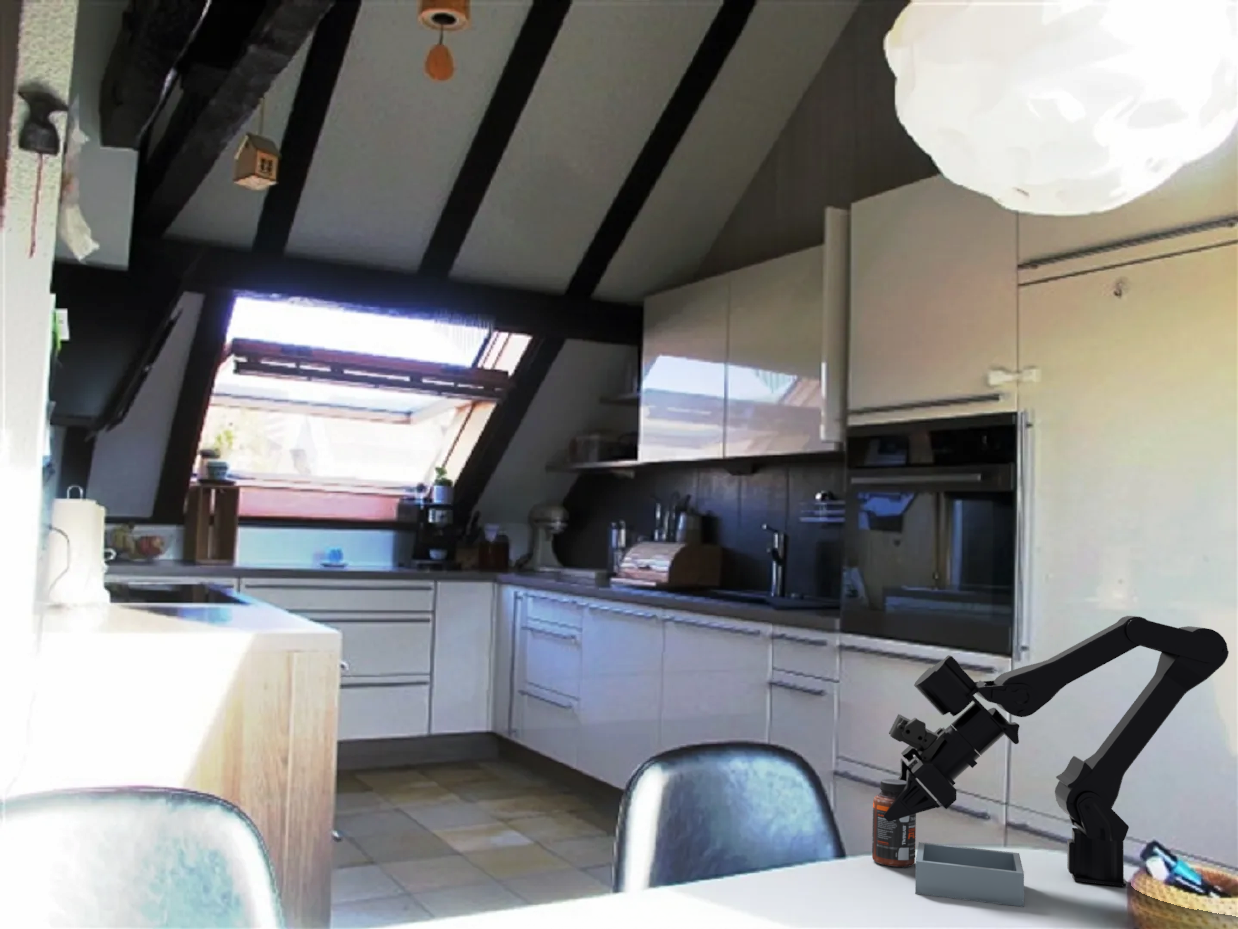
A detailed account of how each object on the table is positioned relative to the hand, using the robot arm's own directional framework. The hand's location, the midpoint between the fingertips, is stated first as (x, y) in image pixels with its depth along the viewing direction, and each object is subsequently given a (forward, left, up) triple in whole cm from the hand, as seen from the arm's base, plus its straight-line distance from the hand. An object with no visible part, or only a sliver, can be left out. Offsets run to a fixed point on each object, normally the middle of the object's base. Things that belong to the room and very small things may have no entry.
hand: (884, 814), depth 155 cm
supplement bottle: (-1, 0, -7) cm, 7 cm away
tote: (-11, +9, -7) cm, 16 cm away
